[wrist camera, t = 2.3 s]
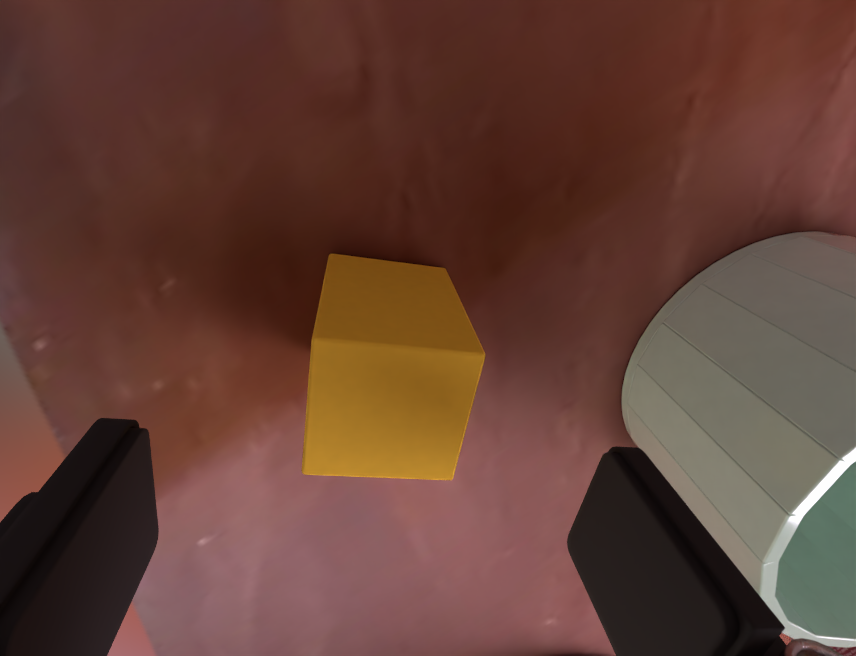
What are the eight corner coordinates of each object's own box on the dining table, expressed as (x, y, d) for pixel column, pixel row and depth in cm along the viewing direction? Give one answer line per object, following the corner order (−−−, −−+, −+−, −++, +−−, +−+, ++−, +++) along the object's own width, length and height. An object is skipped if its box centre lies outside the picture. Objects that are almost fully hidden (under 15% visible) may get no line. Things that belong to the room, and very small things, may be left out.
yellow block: (320, 355, 17) (301, 476, 12) (329, 252, 15) (311, 338, 10) (426, 365, 18) (453, 481, 13) (446, 267, 16) (487, 354, 11)
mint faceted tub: (574, 350, 18) (707, 512, 11) (870, 163, 16) (1258, 220, 9) (675, 509, 24) (808, 688, 17) (908, 383, 22) (1173, 526, 15)
